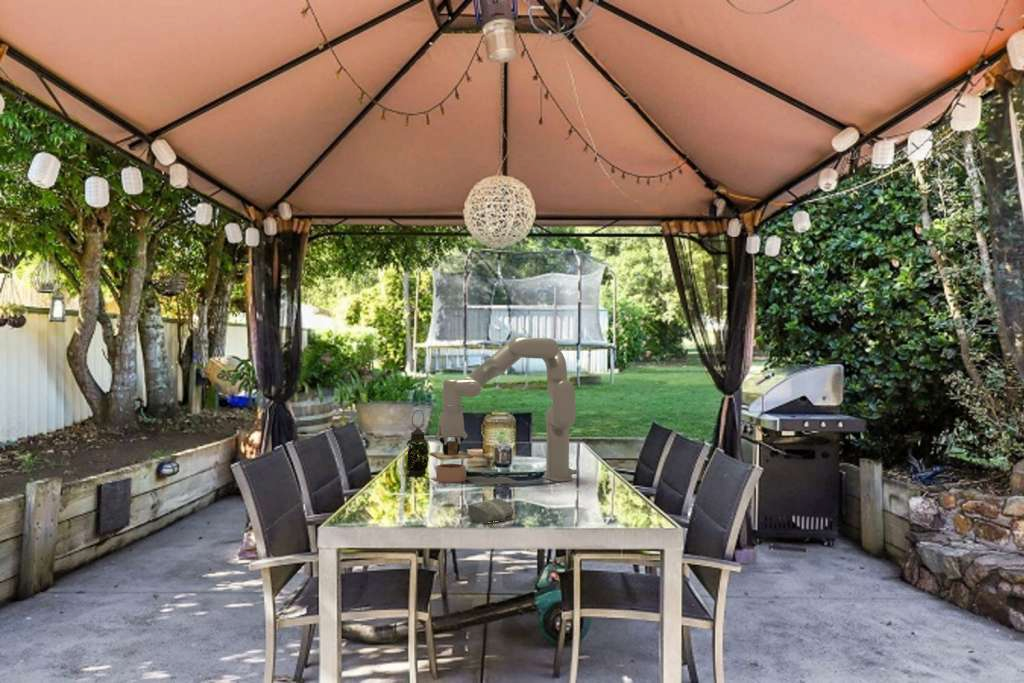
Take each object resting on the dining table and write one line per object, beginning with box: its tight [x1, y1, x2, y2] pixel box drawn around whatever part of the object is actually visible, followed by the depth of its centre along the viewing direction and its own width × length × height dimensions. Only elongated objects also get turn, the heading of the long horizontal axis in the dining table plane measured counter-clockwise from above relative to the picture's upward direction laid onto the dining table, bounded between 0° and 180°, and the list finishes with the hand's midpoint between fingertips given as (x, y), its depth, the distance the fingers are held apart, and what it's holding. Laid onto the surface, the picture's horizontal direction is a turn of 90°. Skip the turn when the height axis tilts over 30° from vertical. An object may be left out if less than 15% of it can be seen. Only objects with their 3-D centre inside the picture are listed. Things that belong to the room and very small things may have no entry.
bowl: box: [435, 463, 467, 483], centre depth 296 cm, size 11×11×7 cm
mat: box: [465, 475, 519, 486], centre depth 297 cm, size 18×18×1 cm
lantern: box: [406, 409, 430, 478], centre depth 311 cm, size 10×9×28 cm
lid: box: [428, 440, 474, 461], centre depth 296 cm, size 14×14×6 cm
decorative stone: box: [467, 498, 515, 524], centre depth 232 cm, size 13×10×6 cm
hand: (451, 453), depth 296 cm, fingers closed on lid, 4 cm apart
